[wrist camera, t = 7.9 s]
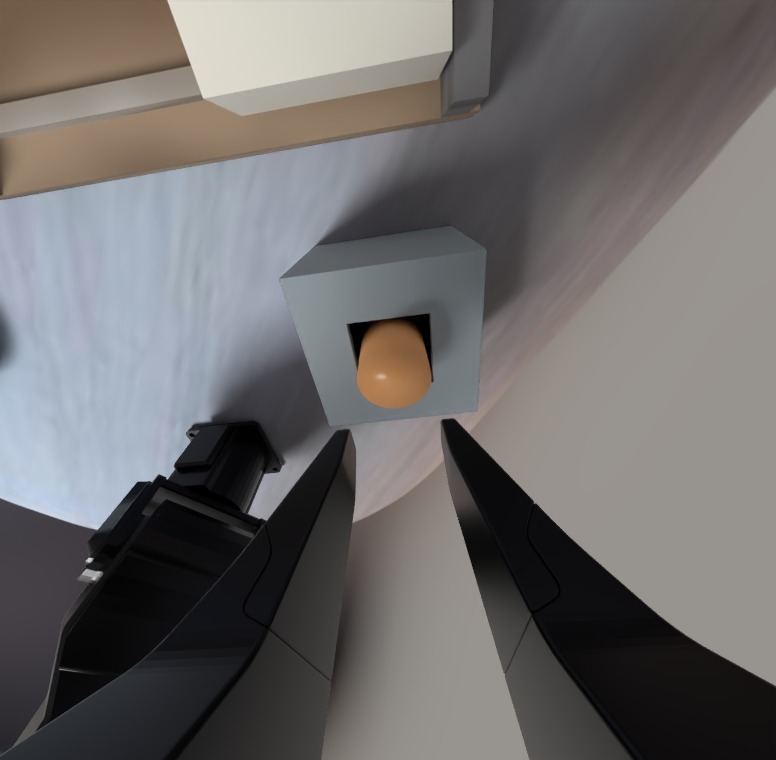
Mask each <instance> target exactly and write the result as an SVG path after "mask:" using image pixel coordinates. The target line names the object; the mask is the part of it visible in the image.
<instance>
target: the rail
mask: <svg viewBox="0 0 776 760" xmlns="http://www.w3.org/2000/svg"><path fill="white" fill-rule="evenodd" d="M493 2H494V0H452V52H451V54H450V56H449V58H448V60H447V62H446V64H445V66H444V68H443V70H442V72H441V74H440V76H439V78H438V79H437V80H432V81H427V82H421V83H416V84H411V85H405V86H400V87H395V88H389V89H384V90H379V91H373V92H368V93H363V94H357V95H352V96H347V97H341V98H336V99H331V100H325V101H320V102H315V103H309V104H304V105H299V106H293V107H288V108H283V109H277V110H272V111H266V112H261V113H256V114H250V115H245V116H240V115H238V114H236V113H234V112H232V111H229V110H227V109H225V108H223V107H221V106H218V105H216V104H214V103H212V102H210V101H207V100H205V99H203V97H202V94H201V91H200V88H199V86H198V83H197V80H196V77H195V75H194V72H193V69H192V67H191V64H190V61H189V58H188V56H187V53H186V50H185V47H184V45H183V42H182V39H181V36H180V34H179V31H178V28H177V25H176V23H175V20H174V17H173V15H172V12H171V9H170V6H169V4H168V1H167V0H0V200H4V199H10V198H16V197H22V196H27V195H33V194H39V193H44V192H50V191H56V190H61V189H67V188H73V187H78V186H84V185H90V184H95V183H101V182H107V181H112V180H118V179H124V178H129V177H135V176H141V175H146V174H152V173H158V172H163V171H169V170H175V169H180V168H186V167H192V166H197V165H203V164H209V163H214V162H220V161H226V160H231V159H237V158H243V157H248V156H254V155H260V154H265V153H271V152H277V151H282V150H288V149H294V148H299V147H305V146H311V145H316V144H322V143H328V142H333V141H339V140H345V139H350V138H356V137H362V136H367V135H373V134H379V133H384V132H390V131H396V130H401V129H407V128H413V127H418V126H424V125H430V124H435V123H441V122H447V121H452V120H458V119H464V118H469V117H472V116H474V115H475V114H476V113H478V112H479V111H480V103H481V102H482V101H483V100H484V99H486V98H487V97H488V96H489V83H490V63H491V42H492V22H493Z"/></svg>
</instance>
